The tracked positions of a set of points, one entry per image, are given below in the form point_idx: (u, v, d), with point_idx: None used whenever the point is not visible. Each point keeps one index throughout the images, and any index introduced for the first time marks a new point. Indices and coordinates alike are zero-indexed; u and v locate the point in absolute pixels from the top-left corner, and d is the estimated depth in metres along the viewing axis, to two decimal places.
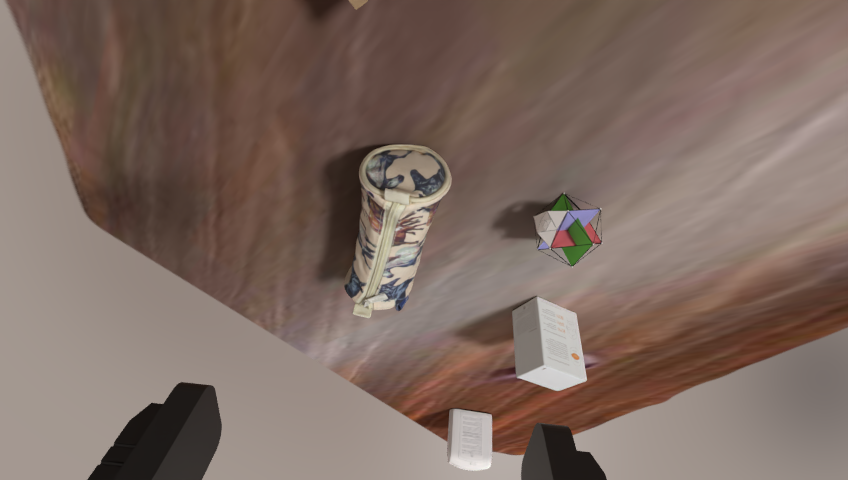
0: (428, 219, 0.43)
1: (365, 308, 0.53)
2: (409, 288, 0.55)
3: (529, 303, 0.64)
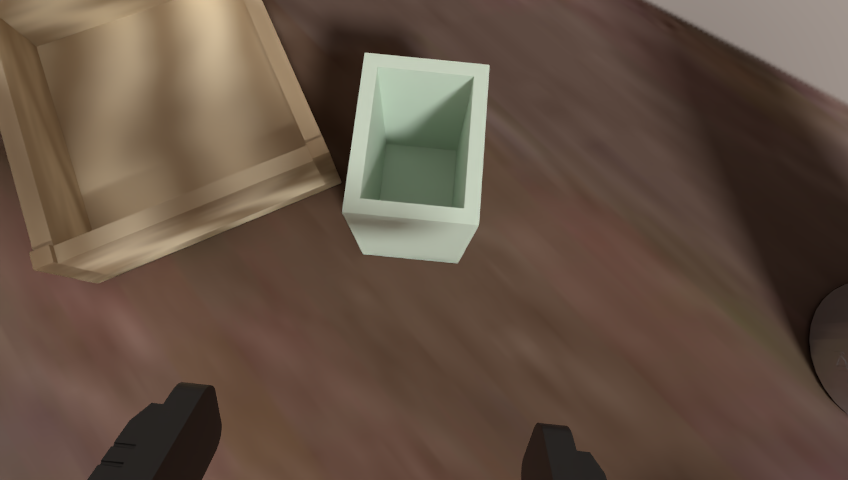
0: None
1: None
2: None
3: None
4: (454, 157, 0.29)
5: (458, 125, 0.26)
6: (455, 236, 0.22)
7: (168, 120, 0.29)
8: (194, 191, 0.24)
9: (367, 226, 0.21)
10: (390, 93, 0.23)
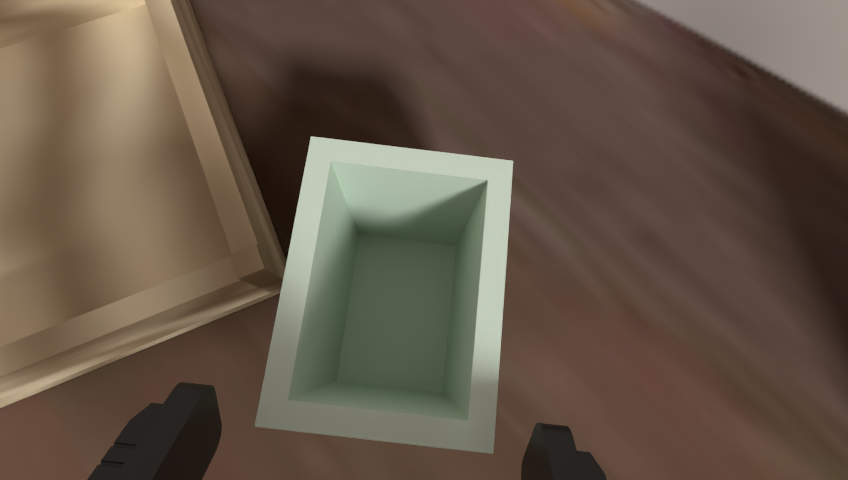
0: None
1: None
2: None
3: None
4: (453, 255, 0.21)
5: (460, 225, 0.18)
6: None
7: (53, 195, 0.21)
8: (55, 327, 0.16)
9: None
10: (356, 189, 0.15)
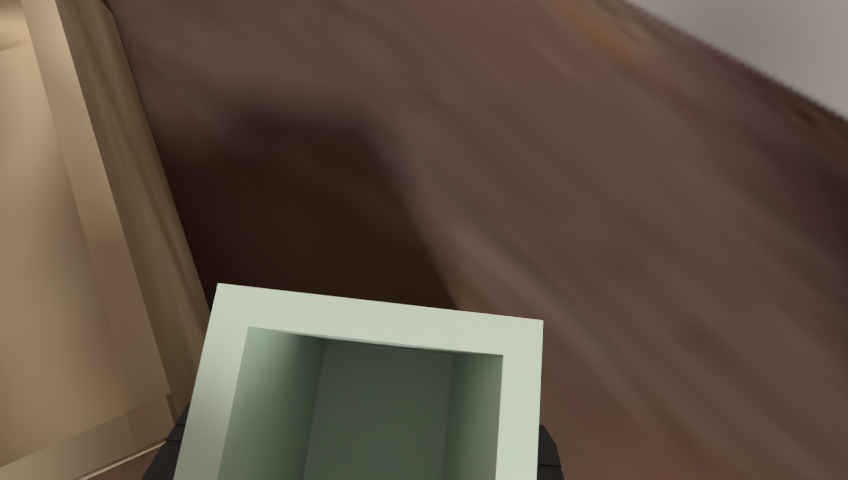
0: None
1: None
2: None
3: None
4: (449, 368, 0.16)
5: (458, 353, 0.13)
6: None
7: None
8: None
9: None
10: (302, 334, 0.10)
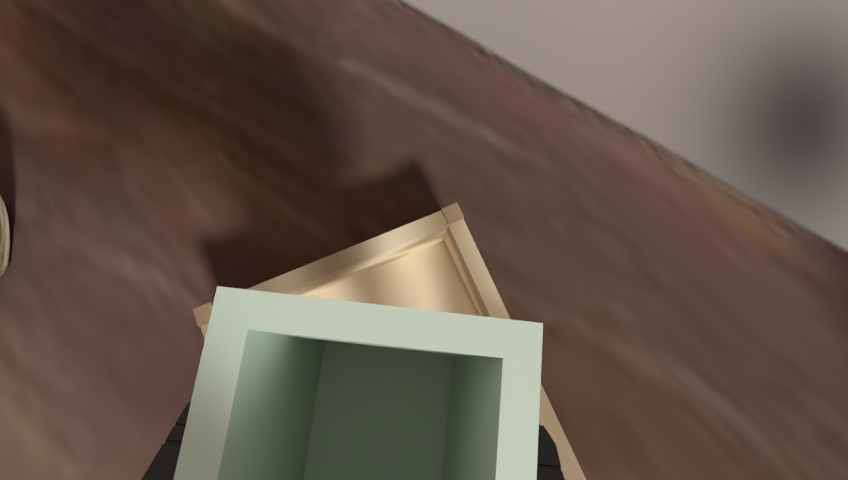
0: None
1: None
2: None
3: None
4: (448, 369, 0.16)
5: (457, 355, 0.13)
6: None
7: None
8: None
9: None
10: None
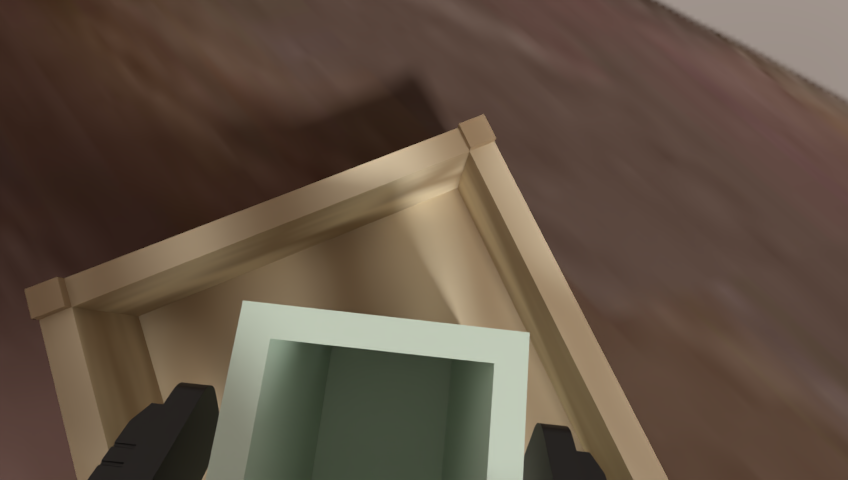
0: None
1: None
2: None
3: None
4: (448, 371, 0.17)
5: None
6: None
7: None
8: None
9: None
10: None
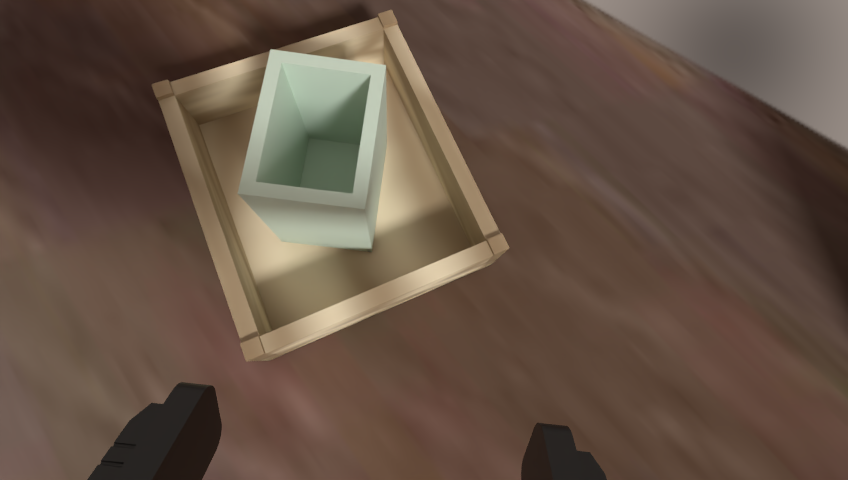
0: None
1: None
2: None
3: None
4: None
5: None
6: (352, 221, 0.23)
7: None
8: (387, 284, 0.26)
9: (268, 209, 0.23)
10: (299, 88, 0.25)
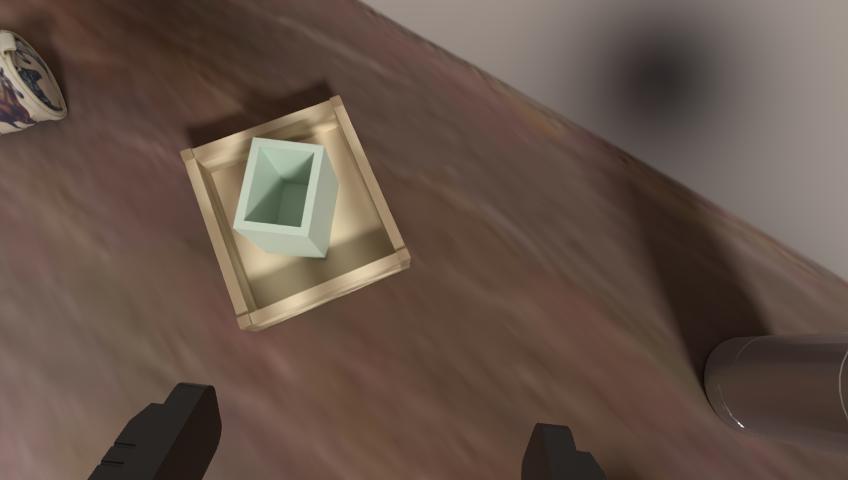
0: None
1: None
2: None
3: None
4: None
5: None
6: (304, 242, 0.38)
7: None
8: (330, 281, 0.40)
9: (252, 235, 0.38)
10: (273, 157, 0.40)
